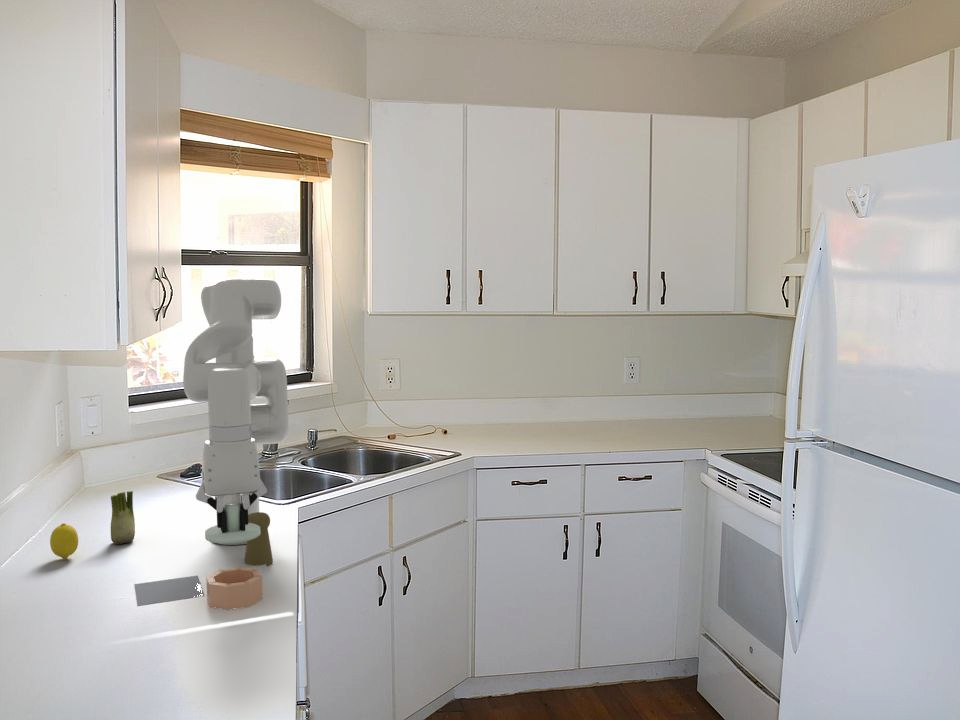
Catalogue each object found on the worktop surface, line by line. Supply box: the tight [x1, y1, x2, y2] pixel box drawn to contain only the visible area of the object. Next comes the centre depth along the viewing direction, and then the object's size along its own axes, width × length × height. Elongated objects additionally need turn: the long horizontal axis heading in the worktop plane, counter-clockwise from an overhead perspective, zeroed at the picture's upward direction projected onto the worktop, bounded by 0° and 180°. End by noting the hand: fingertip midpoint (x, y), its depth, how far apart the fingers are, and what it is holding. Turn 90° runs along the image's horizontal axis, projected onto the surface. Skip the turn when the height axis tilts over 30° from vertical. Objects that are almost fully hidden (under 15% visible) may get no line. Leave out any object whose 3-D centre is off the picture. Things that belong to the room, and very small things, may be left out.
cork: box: [244, 511, 274, 567], centre depth 181 cm, size 6×6×11 cm
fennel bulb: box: [110, 490, 136, 545], centre depth 195 cm, size 6×5×12 cm
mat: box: [134, 575, 205, 607], centre depth 165 cm, size 12×12×1 cm
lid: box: [204, 502, 260, 545], centre depth 159 cm, size 10×10×6 cm
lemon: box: [49, 522, 79, 560], centre depth 184 cm, size 6×6×8 cm
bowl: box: [206, 566, 263, 610], centre depth 160 cm, size 10×10×5 cm
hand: (232, 529), depth 159 cm, fingers closed on lid, 2 cm apart
